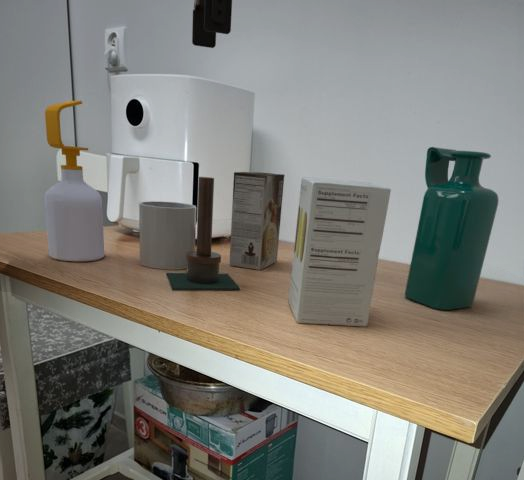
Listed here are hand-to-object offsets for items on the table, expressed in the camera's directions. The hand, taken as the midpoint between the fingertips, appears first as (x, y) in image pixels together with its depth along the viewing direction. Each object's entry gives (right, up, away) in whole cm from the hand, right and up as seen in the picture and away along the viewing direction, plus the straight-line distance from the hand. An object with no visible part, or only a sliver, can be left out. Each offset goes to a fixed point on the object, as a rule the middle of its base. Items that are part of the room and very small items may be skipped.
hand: (210, 39), depth 63 cm
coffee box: (+5, -24, +28) cm, 37 cm away
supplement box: (+15, -36, +2) cm, 39 cm away
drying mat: (-3, -30, +12) cm, 32 cm away
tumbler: (-10, -25, +22) cm, 35 cm away
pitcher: (+34, -33, +13) cm, 49 cm away
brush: (-2, -30, +12) cm, 32 cm away
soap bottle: (-25, -24, +22) cm, 41 cm away
